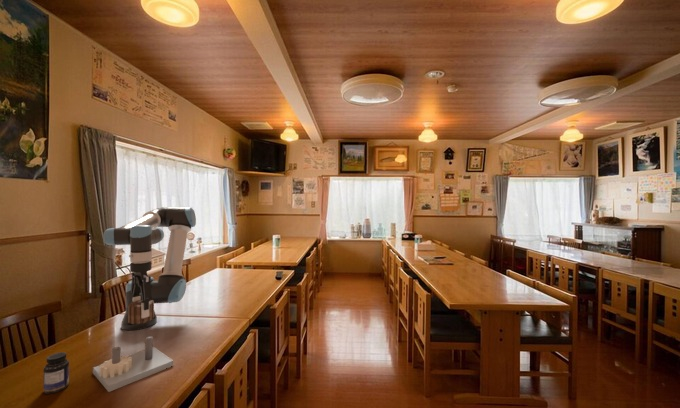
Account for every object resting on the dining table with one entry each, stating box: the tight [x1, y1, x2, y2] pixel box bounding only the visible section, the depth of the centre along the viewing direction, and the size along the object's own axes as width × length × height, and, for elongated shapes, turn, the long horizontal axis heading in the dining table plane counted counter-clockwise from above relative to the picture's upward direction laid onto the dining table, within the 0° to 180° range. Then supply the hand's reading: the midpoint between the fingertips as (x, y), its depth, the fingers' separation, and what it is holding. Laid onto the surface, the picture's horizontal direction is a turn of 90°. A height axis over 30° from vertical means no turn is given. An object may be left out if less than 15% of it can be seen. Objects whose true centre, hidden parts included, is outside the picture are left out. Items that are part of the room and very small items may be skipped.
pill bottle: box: [43, 351, 70, 395], centre depth 98 cm, size 6×6×11 cm
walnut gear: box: [128, 300, 155, 324], centre depth 125 cm, size 9×9×7 cm
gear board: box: [92, 336, 174, 393], centre depth 109 cm, size 18×20×10 cm
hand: (140, 314), depth 124 cm, fingers closed on walnut gear, 9 cm apart
